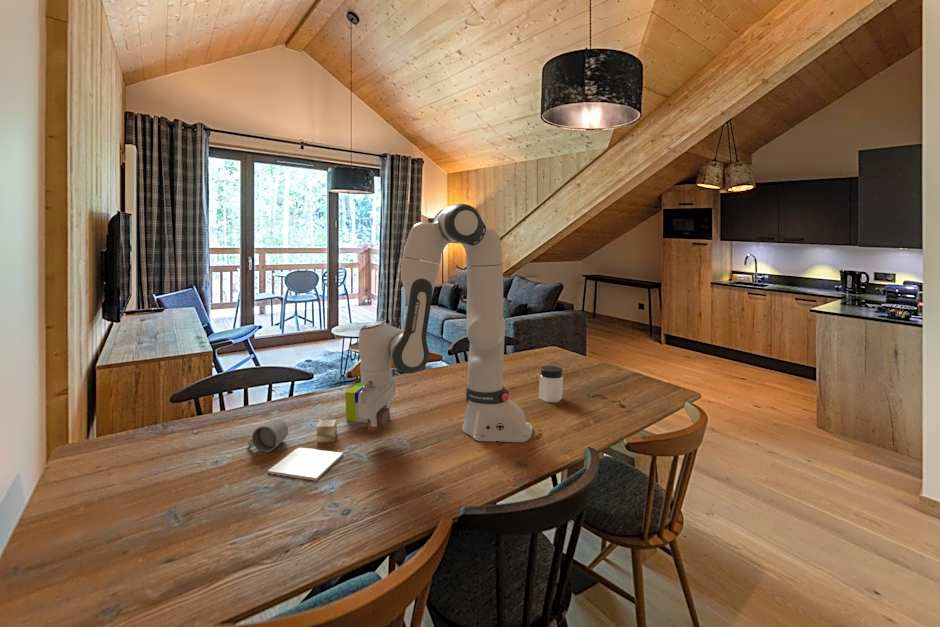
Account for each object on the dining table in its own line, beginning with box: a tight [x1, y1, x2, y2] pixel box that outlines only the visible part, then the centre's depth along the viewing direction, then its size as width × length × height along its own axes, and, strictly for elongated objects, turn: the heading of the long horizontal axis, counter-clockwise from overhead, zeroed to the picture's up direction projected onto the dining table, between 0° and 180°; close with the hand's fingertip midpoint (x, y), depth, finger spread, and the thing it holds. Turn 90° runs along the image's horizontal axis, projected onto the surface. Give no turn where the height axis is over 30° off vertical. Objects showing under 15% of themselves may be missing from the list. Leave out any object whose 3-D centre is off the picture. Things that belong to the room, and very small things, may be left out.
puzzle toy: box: [344, 382, 368, 424], centre depth 161 cm, size 10×10×10 cm
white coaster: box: [267, 446, 344, 482], centre depth 128 cm, size 14×14×1 cm
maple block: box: [316, 419, 338, 443], centre depth 144 cm, size 5×5×5 cm
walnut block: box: [367, 407, 391, 432], centre depth 141 cm, size 5×5×5 cm
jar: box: [538, 365, 564, 403], centre depth 180 cm, size 9×8×12 cm
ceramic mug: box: [247, 418, 289, 453], centre depth 138 cm, size 11×8×8 cm
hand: (379, 421), depth 141 cm, fingers closed on walnut block, 5 cm apart
